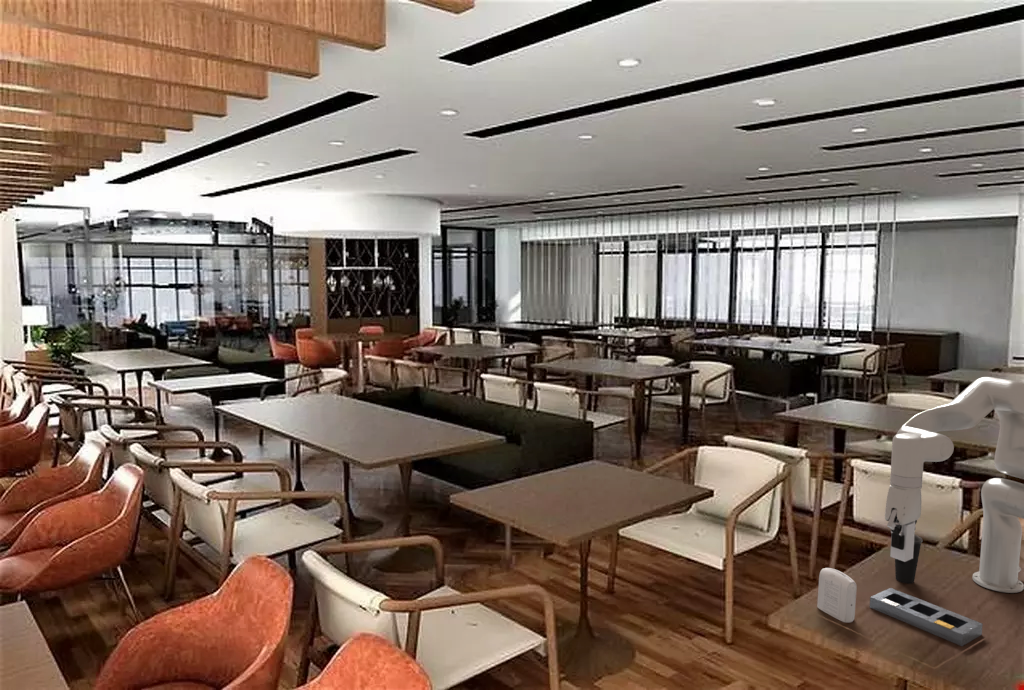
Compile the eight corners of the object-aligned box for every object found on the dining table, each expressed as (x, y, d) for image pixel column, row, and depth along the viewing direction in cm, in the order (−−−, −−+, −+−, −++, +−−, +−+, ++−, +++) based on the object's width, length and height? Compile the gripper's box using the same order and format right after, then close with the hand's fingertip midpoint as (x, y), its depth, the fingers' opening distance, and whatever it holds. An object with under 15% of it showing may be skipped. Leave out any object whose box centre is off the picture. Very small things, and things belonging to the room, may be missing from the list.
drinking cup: (923, 587, 213) (927, 522, 210) (894, 585, 214) (899, 520, 212) (914, 576, 220) (918, 512, 218) (887, 574, 222) (891, 511, 219)
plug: (898, 553, 200) (900, 515, 199) (913, 558, 197) (915, 519, 195) (890, 556, 198) (892, 518, 197) (904, 561, 195) (907, 522, 193)
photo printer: (857, 621, 193) (859, 577, 192) (845, 625, 192) (848, 580, 190) (825, 605, 203) (828, 562, 201) (814, 608, 201) (816, 565, 199)
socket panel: (889, 599, 206) (890, 587, 205) (981, 636, 186) (982, 622, 186) (869, 608, 201) (870, 596, 200) (961, 647, 181) (962, 633, 180)
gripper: (909, 471, 202) (905, 534, 205) (874, 482, 193) (871, 548, 196) (937, 478, 196) (932, 543, 198) (902, 490, 187) (898, 558, 189)
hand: (902, 545), depth 197 cm, fingers closed on plug, 4 cm apart
